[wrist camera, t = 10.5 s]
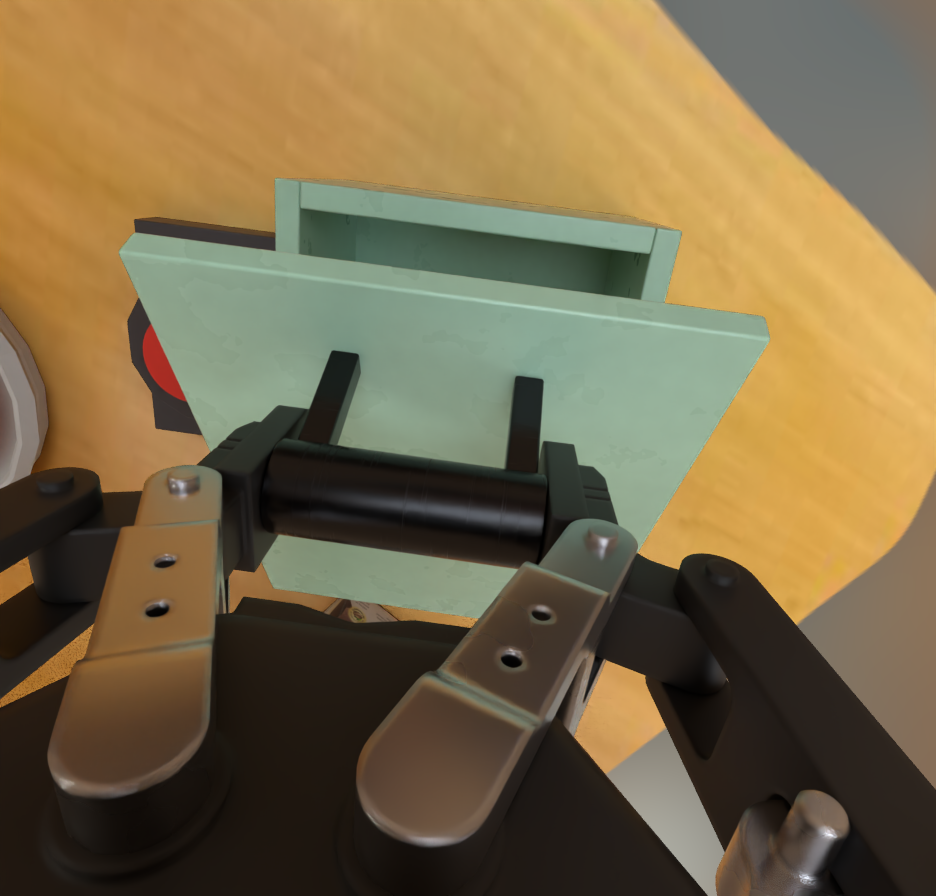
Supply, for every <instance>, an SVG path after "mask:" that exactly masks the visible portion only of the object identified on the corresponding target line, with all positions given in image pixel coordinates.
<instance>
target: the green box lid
mask: <svg viewBox="0 0 936 896" xmlns="http://www.w3.org/2000/svg"><path fill="white" fill-rule="evenodd" d="M119 255H120V257H121V260H122V262H123V264H124V266H125V268H126V270H127V273H128V275H129V277H130V279H131V281H132V283H133V286H134V288H135V290H136V292H137V294H138V296H139V299H140V301H141V303H142V305H143V307H144V309H145V311H146V314H147V316H148V318H149V320H150V322H151V324H152V327H153V329H154V331H155V333H156V335H157V337H158V340H159V342H160V344H161V346H162V348H163V350H164V353H165V355H166V357H167V359H168V361H169V363H170V366H171V368H172V370H173V372H174V374H175V376H176V379H177V381H178V383H179V385H180V387H181V389H182V392H183V394H184V396H185V398H186V400H187V402H188V405H189V407H190V409H191V411H192V413H193V415H194V418H195V420H196V422H197V424H198V426H199V428H200V431H201V433H202V435H203V437H204V439H205V441H206V444H207V446H208V448H209V450H210V452H211V451H212V450H213V449H215V448H217V447H218V445H219V444H220V443H221V442H222V441H223V440H226V438H227V437H228V436H229V435H230V434H231V433H232V432H233V431H234V430H235V429H236V428H239V427H241V426H244V425H246V424H248V423H251V422H253V421H256V422H261V421H262V420H263V419H264V418H265V417H266V416H267V415H268V414H269V413H270V412H271V411H272V410H273V409H274V408H275V407H276V406H278V405H283V406H290V407H298V408H305V409H309V411H308V413H307V416H306V419H305V421H304V424H303V427H302V429H301V432H300V434H299V437H298V440H297V439H290V438H285V439H282V440H280V441H279V442H278V443H277V445H276V446H275V447H274V449H273V451H272V453H271V455H270V457H269V460H268V463H267V466H266V469H265V473H264V477H263V481H262V487H261V496H260V514H261V520H262V524H263V527H264V529H265V530H266V531H267V532H269V533H271V534H278V537H277V539H276V540H275V542H274V543H273V545H272V546H271V548H270V549H269V551H268V552H267V554H266V555H265V557H264V558H263V560H262V562H261V563H262V565H263V567H264V569H265V571H266V573H267V576H268V578H269V580H270V582H271V584H272V586H273V588H274V589H281V590H288V591H295V592H302V593H308V594H315V595H322V596H329V597H336V598H342V599H349V600H356V601H363V602H370V603H376V604H383V605H390V606H397V607H404V608H410V609H417V610H424V611H431V612H437V613H444V614H451V615H458V616H465V617H471V618H478V619H479V618H480V617H481V616H482V614H483V613H484V612H485V611H486V609H487V608H488V607H489V606H490V604H491V603H492V602H493V601H494V599H495V598H496V597H497V596H498V594H499V593H500V592H501V591H502V589H503V588H504V587H505V586H506V584H507V583H508V582H509V581H510V579H511V578H512V577H513V576H514V574H515V573H516V572H517V571H518V569H519V568H520V567H521V566H522V564H523V563H525V562H526V561H529V562H531V563H534V564H536V565H538V562H539V558H540V554H541V549H542V544H543V539H544V532H545V525H546V517H547V506H548V479H547V476H546V475H545V474H539V473H538V464H539V458H540V452H541V447H542V444H543V441H552V442H559V443H567V444H574V446H575V451H576V456H577V461H578V465H584V466H591V467H594V468H595V469H596V470H597V471H598V472H599V473H600V474H601V475H602V476H603V477H604V478H605V480H606V483H607V487H608V492H609V494H610V497H611V501H612V504H613V507H614V511H615V514H616V518H617V521H618V525H619V526H620V527H622V528H624V529H626V530H627V531H628V532H630V533H631V534H632V535H633V536H634V538H635V539H636V541H637V543H638V549H637V553H638V551H639V550H640V548H641V546H642V545H643V543H644V542H645V540H646V538H647V537H648V535H649V534H650V532H651V530H652V529H653V527H654V525H655V524H656V522H657V521H658V519H659V517H660V516H661V514H662V513H663V511H664V509H665V508H666V506H667V505H668V503H669V501H670V500H671V498H672V497H673V495H674V493H675V492H676V490H677V489H678V487H679V485H680V484H681V482H682V481H683V479H684V477H685V476H686V474H687V473H688V471H689V469H690V468H691V466H692V465H693V463H694V461H695V460H696V458H697V457H698V455H699V453H700V452H701V450H702V449H703V447H704V445H705V444H706V442H707V441H708V439H709V437H710V436H711V434H712V433H713V431H714V429H715V428H716V426H717V425H718V423H719V421H720V420H721V418H722V417H723V415H724V413H725V412H726V410H727V409H728V407H729V405H730V404H731V402H732V401H733V399H734V397H735V396H736V394H737V393H738V391H739V389H740V388H741V386H742V384H743V383H744V381H745V380H746V378H747V376H748V375H749V373H750V372H751V370H752V368H753V367H754V365H755V364H756V362H757V360H758V359H759V357H760V356H761V354H762V352H763V351H764V349H765V348H766V346H767V344H768V343H769V341H770V335H769V331H768V327H767V324H766V320H765V318H764V317H763V316H758V315H751V314H743V313H736V312H728V311H721V310H713V309H706V308H698V307H691V306H683V305H676V304H668V303H661V302H653V301H646V300H638V299H631V298H623V297H616V296H608V295H601V294H593V293H586V292H578V291H571V290H563V289H556V288H548V287H541V286H533V285H526V284H518V283H511V282H503V281H496V280H488V279H481V278H473V277H466V276H458V275H451V274H443V273H436V272H428V271H421V270H413V269H406V268H398V267H391V266H383V265H376V264H368V263H361V262H353V261H346V260H338V259H331V258H323V257H316V256H308V255H301V254H293V253H286V252H278V251H271V250H263V249H256V248H248V247H241V246H233V245H226V244H218V243H211V242H203V241H196V240H188V239H181V238H173V237H166V236H158V235H151V234H143V233H133V234H132V235H131V236H130V237H129V239H128V240H127V241H126V242H125V244H124V245H123V246H122V247H121V248H120V250H119Z"/></svg>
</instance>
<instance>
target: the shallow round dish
mask: <svg viewBox="0 0 936 896" xmlns="http://www.w3.org/2000/svg"><path fill="white" fill-rule="evenodd" d="M48 425H49V422H48V412H47V402H46V392H45V386H44V383H43V381H42V378H41V376H40V373H39V371H38V368H37V366H36V364H35V361H34V359H33V356H32V354H31V351H30V349H29V346H28V345H27V344H26V342H25V341H24V340H23V338H22V337H21V336H20V334H19V333H18V331H17V330H16V329H15V327H14V326H13V325H12V323H11V322H10V320H9V319H8V318H7V316H6V315H5V314H4V312H3V311H2V310H1V308H0V489H1V488H3V487H5V486H7V485H9V484H11V483H13V482H16V481H18V480H20V479H22V478H24V477H26V476H28V475H30V474H31V470H32V466H33V464H34V463H35V461H36V460H37V459H38V458H39V456H40V454H41V450H42V447H43V443H44V440H45V436H46V432H47V429H48Z"/></svg>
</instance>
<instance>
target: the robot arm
mask: <svg viewBox="0 0 936 896" xmlns="http://www.w3.org/2000/svg"><path fill="white" fill-rule="evenodd" d="M308 411H309V409H305V408H298V407H290V406H283V405H278V406H276V407H275V408H274V409H273V410H272V411H271V412H270V413H269V414H268V415H267V416H266V417H265V418H264V419H263V420H262V421H261V422H256V421H253V422H251V423H248V424H246V425H244V426H241V427H239V428H236V429H235V430H234V431H233V432H232V433H231V434H230V435H229V436H228V437H227V438H226V440H223V441H222V442H221V443H220V444H219V445H218V447H217V448H215V449H213V450H212V451H211V452H210V453H209V454H208V455H207V456H206V457H205V458H204V459H203V460H202V461H200V462H199V463H198V464H197V465H184V466H176V467H171V468H167V469H164V470H161V471H158V472H156V473H154V474H153V475H151V476H150V477H149V478H148V479H147V480H146V481H145V483H144V487H143V491H135V492H108V493H102V491H101V485H100V479H99V476H98V475H97V474H96V473H95V472H93V471H91V470H88V469H83V468H74V467H66V468H55V469H49V470H44V471H40V472H37V473H34V474H31V475H28V476H26V477H24V478H22V479H20V480H18V481H16V482H13V483H11V484H9V485H7V486H5V487H3V488H1V489H0V573H1V572H2V571H4V570H6V569H7V568H9V567H11V566H12V565H14V564H16V563H17V562H19V561H20V560H22V559H24V558H25V557H27V556H28V560H29V564H30V568H31V572H32V576H33V581H34V583H33V584H31V585H30V586H28V587H27V588H25V589H24V590H22V591H21V592H19V593H18V594H16V595H15V596H13V597H12V598H10V599H9V600H7V601H6V602H4V603H3V604H1V605H0V699H1V698H2V697H3V696H5V695H6V694H7V693H8V692H10V691H11V690H12V689H13V688H14V687H16V686H17V685H18V684H19V683H21V682H22V681H23V680H24V679H26V678H27V677H28V676H29V675H31V674H32V673H33V672H34V671H35V670H37V669H38V668H39V667H40V666H42V665H43V664H44V663H45V662H47V661H48V660H49V659H50V658H52V657H53V656H54V655H55V654H57V653H58V652H59V651H60V650H61V649H63V648H64V647H65V646H66V645H68V644H69V643H70V642H71V641H73V640H74V639H75V638H76V637H78V636H79V635H80V634H81V633H83V632H84V631H85V630H86V629H87V628H89V627H90V626H91V625H92V624H94V626H93V629H92V633H91V636H90V640H89V644H88V647H87V651H86V654H85V656H84V658H83V659H82V660H78V661H77V662H76V663H75V664H74V666H73V668H72V670H71V673H70V675H68V676H66V677H64V678H62V679H60V680H58V681H56V682H54V683H52V684H49V685H47V686H45V687H43V688H41V689H39V690H37V691H35V692H33V693H30V694H28V695H26V696H24V697H22V698H20V699H18V700H16V701H14V702H12V703H9V704H7V705H5V706H3V707H1V708H0V896H707V894H706V893H705V892H704V891H703V889H702V888H701V887H700V886H699V885H698V883H697V882H696V881H695V880H694V879H693V878H692V877H691V875H690V874H689V873H688V872H687V870H686V869H685V868H684V867H683V866H682V865H681V863H680V862H679V861H678V860H677V859H676V857H675V856H674V855H673V854H672V853H671V851H670V850H669V849H668V848H667V847H666V846H665V844H664V843H663V842H662V841H661V840H660V838H659V837H658V836H657V835H656V834H655V833H654V831H653V830H652V829H651V828H650V827H649V825H647V823H646V822H645V821H644V820H643V818H642V817H641V816H640V815H639V814H638V812H637V811H636V810H635V809H634V808H633V807H632V805H631V804H630V803H629V802H628V801H627V799H626V798H625V797H624V796H623V795H622V793H621V792H620V791H619V790H618V789H617V788H616V787H615V785H614V784H613V783H612V782H611V780H610V779H609V778H608V777H607V776H606V775H605V773H604V772H603V771H602V770H601V769H600V767H599V766H598V765H597V764H596V763H595V761H594V760H593V759H592V758H591V757H590V756H589V754H588V753H587V752H586V751H585V750H584V748H583V747H582V746H581V745H580V744H579V743H578V741H577V740H576V739H575V738H574V735H575V732H576V729H577V726H578V724H579V721H580V719H581V717H582V714H583V712H584V710H585V708H586V705H587V703H588V701H589V699H590V696H591V694H592V692H593V690H594V687H595V685H596V683H597V681H598V678H599V676H600V674H601V672H602V669H603V667H604V665H605V663H606V660H607V661H610V662H612V663H615V664H618V665H620V666H623V667H625V668H628V669H630V670H633V671H636V672H638V673H641V674H643V675H646V677H645V679H646V684H647V687H648V689H649V691H650V694H651V696H652V698H653V700H654V702H655V704H656V706H657V708H658V711H659V713H660V715H661V717H662V719H663V721H664V723H665V726H666V728H667V730H668V732H669V734H670V736H671V738H672V740H673V743H674V745H675V747H676V749H677V751H678V753H679V755H680V758H681V760H682V762H683V764H684V766H685V768H686V770H687V772H688V775H689V777H690V779H691V781H692V783H693V785H694V787H695V789H696V792H697V794H698V796H699V798H700V800H701V802H702V805H703V806H704V809H705V811H706V813H707V815H708V817H709V819H710V822H711V824H712V826H713V828H714V830H715V832H716V834H717V837H718V839H719V841H720V843H721V845H722V847H723V849H724V851H725V854H724V855H723V858H722V860H721V862H720V864H719V866H718V868H717V873H716V891H717V896H936V790H935V788H934V787H933V786H932V785H931V784H930V783H929V781H928V780H927V779H926V778H925V777H924V775H923V774H922V773H921V772H920V771H919V769H918V768H917V767H916V766H915V765H914V764H913V762H912V761H911V760H910V759H909V758H908V757H907V755H906V754H905V753H904V752H903V751H902V749H901V748H900V747H899V746H898V745H897V744H896V742H895V741H894V740H893V739H892V738H891V737H890V735H889V734H888V733H887V732H886V731H885V729H884V728H883V727H882V726H881V725H880V723H879V722H877V720H876V719H875V718H874V716H873V715H872V714H871V713H870V712H869V711H868V709H867V708H866V707H865V706H864V705H863V703H862V702H861V701H860V700H859V699H858V698H857V696H856V695H855V694H854V693H853V692H852V691H851V690H850V688H849V687H848V686H847V685H846V684H845V682H844V681H843V680H842V679H841V678H840V676H839V675H838V674H837V673H836V672H835V670H834V669H833V668H832V667H831V666H830V665H829V663H828V662H827V661H826V660H825V659H824V657H823V656H822V655H821V654H820V653H819V652H818V650H817V649H816V648H815V647H814V646H813V644H811V642H810V641H809V640H808V639H807V637H806V636H805V635H804V634H803V633H802V632H801V630H800V629H799V628H798V627H797V626H796V624H795V623H794V622H793V621H792V620H791V619H790V617H789V616H788V615H787V614H786V613H785V611H784V610H783V609H782V608H781V607H780V606H779V604H778V603H777V602H776V601H775V600H774V599H773V597H772V596H771V595H770V594H769V593H768V591H767V590H766V589H765V588H764V587H763V586H762V584H761V583H760V582H759V581H758V580H757V578H756V577H755V576H754V575H753V574H752V573H751V572H750V571H748V570H747V569H746V568H744V567H743V566H741V565H739V564H737V563H736V562H734V561H731V560H729V559H726V558H723V557H720V556H717V555H711V554H692V555H689V556H687V557H685V558H684V559H683V560H682V563H681V565H680V569H679V570H677V569H674V568H671V567H668V566H665V565H662V564H659V563H656V562H653V561H651V560H649V559H646V558H644V557H643V556H641V555H639V554H638V553H637V549H638V543H637V541H636V539H635V538H634V536H633V535H632V534H631V533H630V532H628V531H627V530H626V529H624V528H622V527H620V526H619V525H618V521H617V518H616V514H615V511H614V507H613V504H612V501H611V497H610V494H609V492H608V487H607V483H606V480H605V478H604V477H603V476H602V475H601V474H600V473H599V472H598V471H597V470H596V469H595V468H594V467H591V466H584V465H578V461H577V456H576V451H575V446H574V444H567V443H559V442H552V441H543V444H542V447H541V452H540V458H539V464H538V473H539V474H545V475H546V476H547V479H548V506H547V517H546V525H545V532H544V539H543V544H542V549H541V554H540V558H539V562H538V565H536V564H534V563H531V562H529V561H526V562H525V563H523V564H522V566H521V567H520V568H519V569H518V571H517V572H516V573H515V574H514V576H513V577H512V578H511V579H510V581H509V582H508V583H507V584H506V586H505V587H504V588H503V589H502V591H501V592H500V593H499V594H498V596H497V597H496V598H495V599H494V601H493V602H492V603H491V604H490V606H489V607H488V608H487V609H486V611H485V612H484V613H483V614H482V616H481V617H480V618H479V619H478V621H477V622H476V623H475V624H474V626H473V627H472V628H467V627H459V626H452V625H445V624H438V623H430V622H423V621H416V620H413V621H389V622H366V623H354V622H349V621H346V620H343V619H340V618H337V617H334V616H332V615H329V614H326V613H323V612H320V611H317V610H314V609H311V608H309V607H306V606H303V605H300V604H293V603H286V602H279V601H272V600H265V599H257V598H250V597H243V598H242V600H241V602H240V603H239V605H238V606H237V608H236V609H235V611H234V612H233V613H230V585H229V575H230V574H231V573H232V571H233V570H241V571H248V572H255V571H256V569H257V568H258V566H259V565H260V563H261V562H262V560H263V558H264V557H265V555H266V554H267V552H268V551H269V549H270V548H271V546H272V545H273V543H274V542H275V540H276V539H277V537H278V534H271V533H269V532H267V531H266V530H265V529H264V527H263V524H262V520H261V514H260V496H261V487H262V481H263V477H264V473H265V469H266V466H267V463H268V460H269V457H270V455H271V453H272V451H273V449H274V447H275V446H276V445H277V443H278V442H279V441H280V440H282V439H285V438H290V439H297V440H298V437H299V434H300V432H301V429H302V427H303V424H304V421H305V419H306V416H307V413H308ZM726 678H727V679H728V681H729V682H728V681H727V679H726Z"/></svg>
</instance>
